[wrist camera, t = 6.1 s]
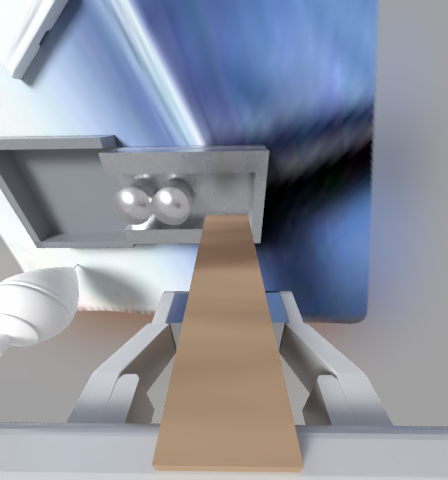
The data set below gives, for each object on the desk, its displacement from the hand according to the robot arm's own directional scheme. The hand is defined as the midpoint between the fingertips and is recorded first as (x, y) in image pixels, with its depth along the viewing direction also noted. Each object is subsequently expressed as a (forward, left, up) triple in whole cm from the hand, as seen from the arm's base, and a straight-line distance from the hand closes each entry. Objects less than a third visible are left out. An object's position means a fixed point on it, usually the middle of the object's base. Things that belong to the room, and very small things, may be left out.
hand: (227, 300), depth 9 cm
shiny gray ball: (0, -9, -13) cm, 16 cm away
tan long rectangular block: (0, 0, -5) cm, 5 cm away
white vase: (+10, -21, -15) cm, 27 cm away
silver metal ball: (0, -5, -13) cm, 14 cm away
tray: (0, -16, -15) cm, 22 cm away
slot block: (0, -4, -15) cm, 15 cm away
